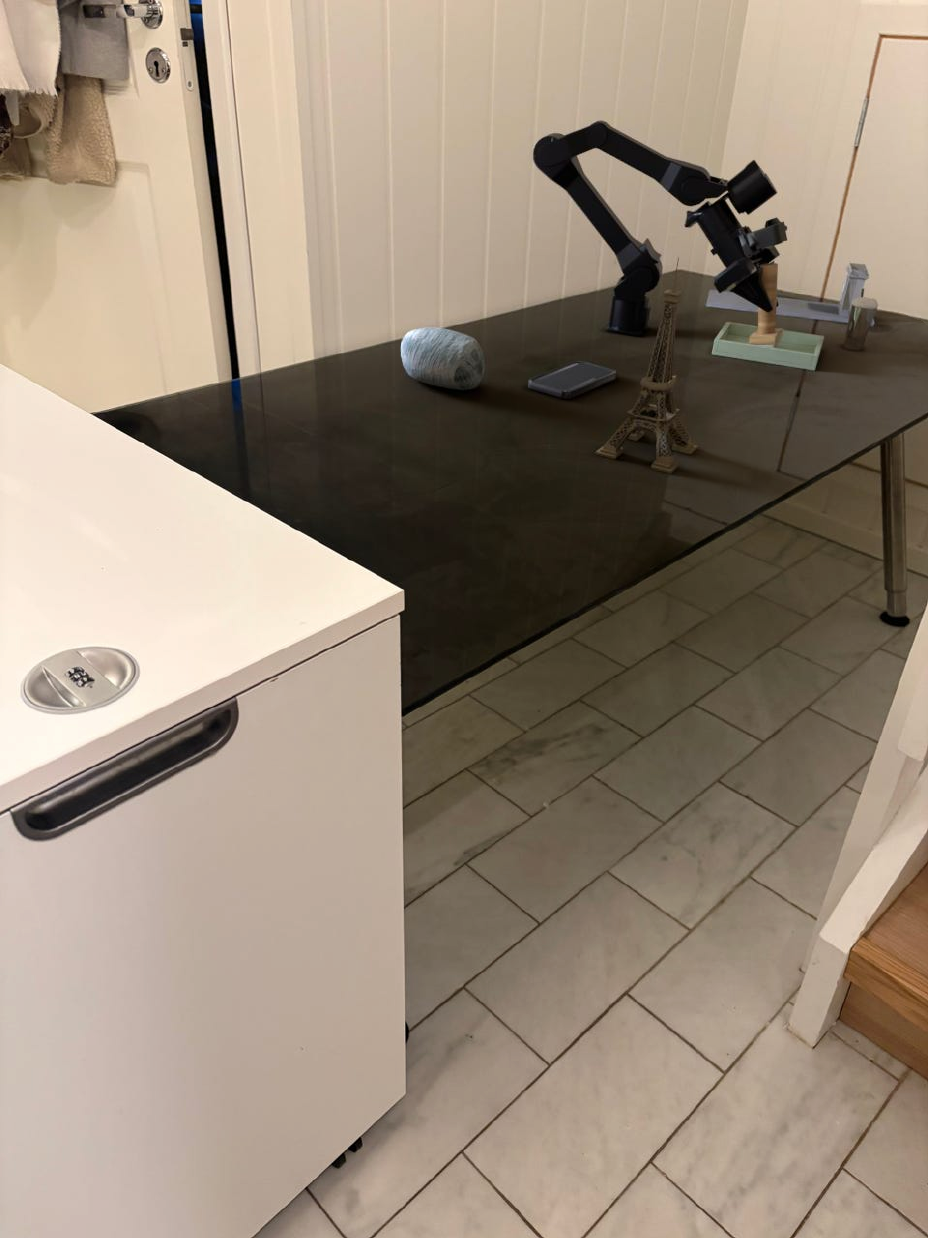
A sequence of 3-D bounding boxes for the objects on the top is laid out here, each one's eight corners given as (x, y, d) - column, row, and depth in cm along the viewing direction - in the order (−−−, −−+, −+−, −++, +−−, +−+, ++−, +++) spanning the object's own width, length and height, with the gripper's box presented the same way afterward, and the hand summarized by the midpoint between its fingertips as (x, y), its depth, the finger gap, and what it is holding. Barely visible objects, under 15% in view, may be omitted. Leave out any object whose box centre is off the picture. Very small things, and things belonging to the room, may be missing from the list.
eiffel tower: (625, 430, 134) (653, 243, 120) (697, 448, 129) (734, 256, 116) (595, 454, 126) (621, 257, 112) (670, 473, 122) (707, 271, 108)
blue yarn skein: (505, 364, 146) (479, 309, 139) (475, 406, 142) (446, 352, 135) (439, 365, 154) (411, 314, 148) (408, 404, 150) (378, 354, 144)
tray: (711, 354, 167) (714, 339, 166) (723, 335, 178) (726, 321, 177) (814, 370, 162) (818, 355, 161) (820, 350, 173) (824, 335, 172)
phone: (525, 380, 146) (578, 359, 156) (525, 387, 147) (577, 366, 157) (568, 392, 142) (619, 370, 152) (567, 400, 143) (618, 377, 153)
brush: (774, 350, 166) (777, 266, 160) (749, 350, 168) (751, 267, 162) (782, 343, 171) (785, 260, 164) (757, 343, 173) (760, 262, 166)
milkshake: (860, 344, 178) (876, 289, 172) (868, 352, 173) (884, 296, 168) (836, 342, 178) (850, 287, 173) (843, 350, 173) (857, 294, 168)
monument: (873, 325, 189) (887, 275, 184) (705, 306, 196) (714, 257, 191) (868, 310, 200) (881, 263, 195) (709, 292, 206) (717, 246, 201)
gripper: (747, 208, 152) (799, 290, 153) (780, 195, 166) (827, 271, 167) (691, 252, 160) (742, 330, 161) (727, 236, 173) (773, 309, 175)
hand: (773, 309), depth 166 cm, fingers closed on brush, 3 cm apart
